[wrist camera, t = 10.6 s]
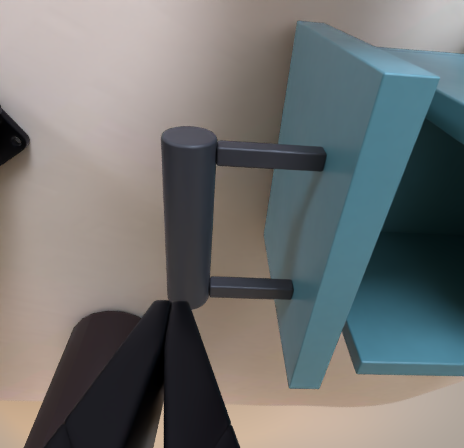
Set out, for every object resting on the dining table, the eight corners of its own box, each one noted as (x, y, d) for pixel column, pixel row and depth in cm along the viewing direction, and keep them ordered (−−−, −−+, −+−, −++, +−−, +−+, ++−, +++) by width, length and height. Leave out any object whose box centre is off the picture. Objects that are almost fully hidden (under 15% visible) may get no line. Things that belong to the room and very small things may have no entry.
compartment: (184, 231, 21) (162, 386, 13) (183, 11, 15) (139, 53, 7) (474, 244, 22) (616, 394, 14) (593, 45, 16) (971, 116, 8)
